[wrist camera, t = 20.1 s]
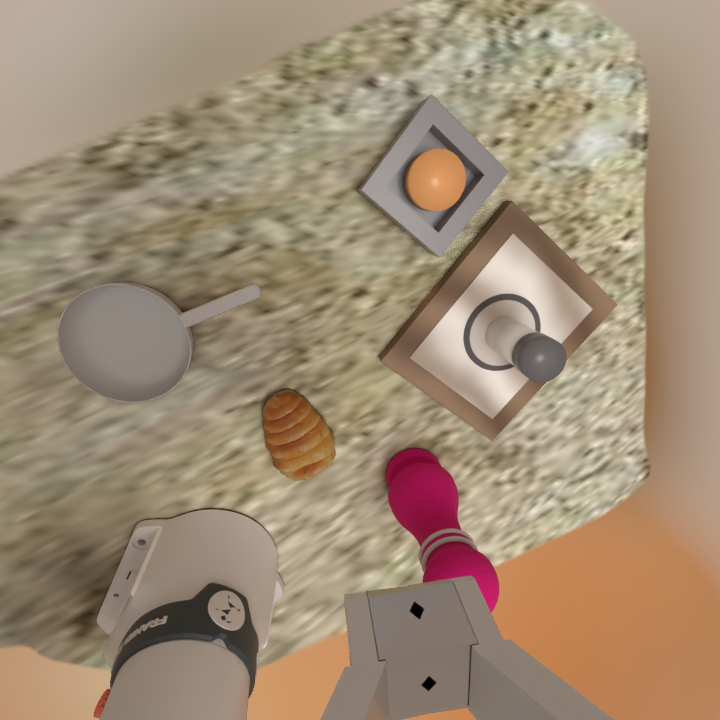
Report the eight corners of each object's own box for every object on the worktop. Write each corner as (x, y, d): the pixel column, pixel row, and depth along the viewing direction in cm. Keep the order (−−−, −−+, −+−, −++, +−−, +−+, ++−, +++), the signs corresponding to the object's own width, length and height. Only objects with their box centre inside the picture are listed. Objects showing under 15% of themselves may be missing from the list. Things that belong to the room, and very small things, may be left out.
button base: (430, 253, 42) (439, 257, 39) (356, 190, 39) (361, 189, 36) (493, 173, 40) (508, 171, 37) (421, 102, 37) (431, 94, 34)
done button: (432, 221, 40) (439, 222, 37) (391, 186, 38) (397, 185, 36) (467, 177, 39) (477, 175, 36) (427, 138, 37) (435, 134, 35)
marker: (511, 356, 44) (554, 387, 37) (478, 346, 44) (515, 376, 36) (526, 321, 43) (574, 346, 36) (493, 310, 43) (534, 333, 35)
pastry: (246, 401, 45) (242, 418, 41) (308, 377, 45) (309, 391, 41) (283, 472, 48) (282, 493, 44) (341, 449, 48) (344, 469, 45)
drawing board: (486, 434, 50) (493, 442, 48) (378, 356, 45) (381, 362, 43) (607, 301, 46) (620, 305, 44) (505, 201, 41) (514, 200, 39)
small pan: (51, 305, 39) (26, 315, 35) (236, 225, 39) (229, 228, 35) (119, 404, 43) (103, 422, 39) (287, 332, 43) (287, 344, 39)
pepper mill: (437, 498, 52) (515, 665, 33) (377, 497, 51) (424, 670, 32) (448, 444, 49) (539, 591, 31) (385, 442, 48) (440, 594, 30)
